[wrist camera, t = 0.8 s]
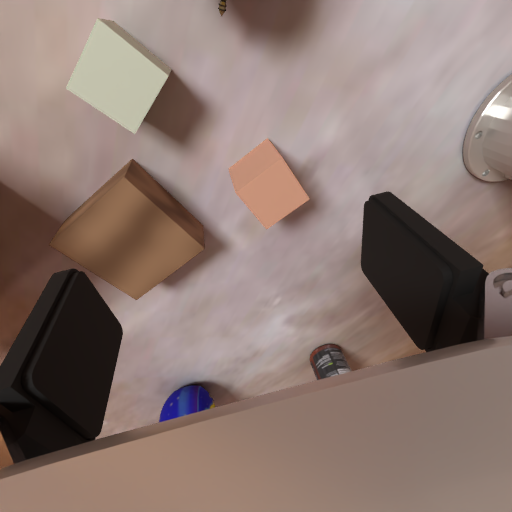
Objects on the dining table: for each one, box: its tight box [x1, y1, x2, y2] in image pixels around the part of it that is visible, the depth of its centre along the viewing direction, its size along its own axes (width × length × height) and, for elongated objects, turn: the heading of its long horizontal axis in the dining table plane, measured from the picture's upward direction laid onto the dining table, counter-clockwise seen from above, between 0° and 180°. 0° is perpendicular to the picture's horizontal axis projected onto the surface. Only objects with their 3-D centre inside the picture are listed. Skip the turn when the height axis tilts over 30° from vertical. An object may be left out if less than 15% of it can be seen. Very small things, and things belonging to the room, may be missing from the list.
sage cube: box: [66, 18, 172, 134], centre depth 23 cm, size 5×5×5 cm
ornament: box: [159, 385, 215, 422], centre depth 48 cm, size 11×9×15 cm
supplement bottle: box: [310, 344, 351, 380], centre depth 50 cm, size 6×6×11 cm
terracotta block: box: [229, 138, 309, 229], centre depth 30 cm, size 5×5×6 cm
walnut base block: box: [49, 159, 205, 300], centre depth 31 cm, size 10×10×5 cm
